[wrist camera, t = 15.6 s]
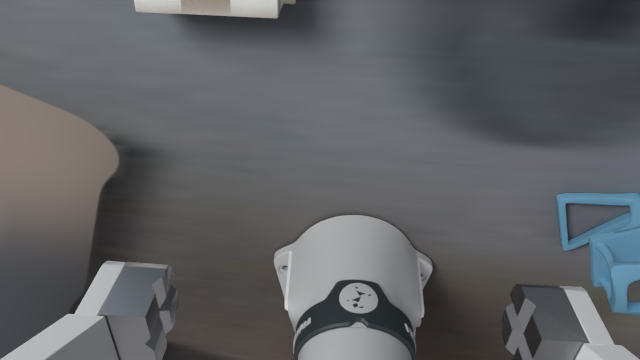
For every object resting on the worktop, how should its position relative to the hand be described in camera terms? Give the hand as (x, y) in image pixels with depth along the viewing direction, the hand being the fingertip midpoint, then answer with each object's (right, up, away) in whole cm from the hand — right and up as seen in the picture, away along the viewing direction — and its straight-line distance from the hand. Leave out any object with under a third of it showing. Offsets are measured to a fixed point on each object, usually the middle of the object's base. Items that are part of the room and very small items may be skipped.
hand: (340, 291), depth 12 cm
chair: (+30, -1, +42) cm, 52 cm away
